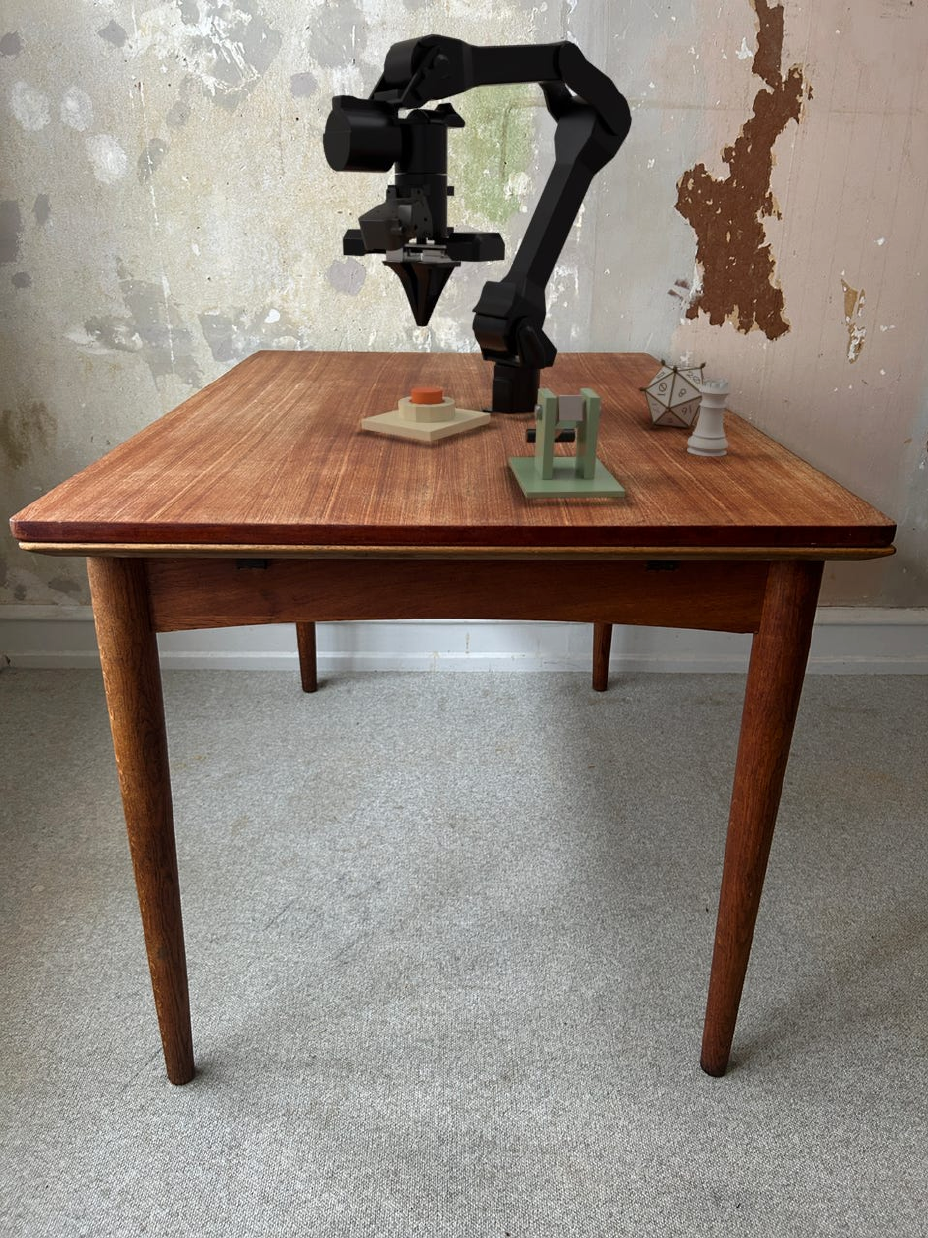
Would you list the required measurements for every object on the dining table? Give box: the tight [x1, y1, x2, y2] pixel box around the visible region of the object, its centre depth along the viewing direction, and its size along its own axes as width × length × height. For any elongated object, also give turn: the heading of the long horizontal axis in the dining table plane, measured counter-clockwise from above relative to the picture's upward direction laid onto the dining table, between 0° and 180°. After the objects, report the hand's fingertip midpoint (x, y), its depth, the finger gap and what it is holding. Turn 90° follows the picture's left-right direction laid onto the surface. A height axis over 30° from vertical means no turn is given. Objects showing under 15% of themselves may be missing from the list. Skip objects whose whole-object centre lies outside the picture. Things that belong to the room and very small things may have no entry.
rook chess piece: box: [686, 378, 732, 457], centre depth 94 cm, size 4×4×8 cm
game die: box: [637, 358, 707, 430], centre depth 106 cm, size 9×8×10 cm
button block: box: [360, 395, 491, 442], centre depth 105 cm, size 12×10×4 cm
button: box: [410, 386, 443, 405], centre depth 104 cm, size 4×4×2 cm
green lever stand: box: [508, 387, 626, 499], centre depth 84 cm, size 12×9×9 cm
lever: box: [524, 394, 583, 444], centre depth 87 cm, size 11×5×2 cm, turn 5°
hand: (422, 326), depth 102 cm, fingers closed
